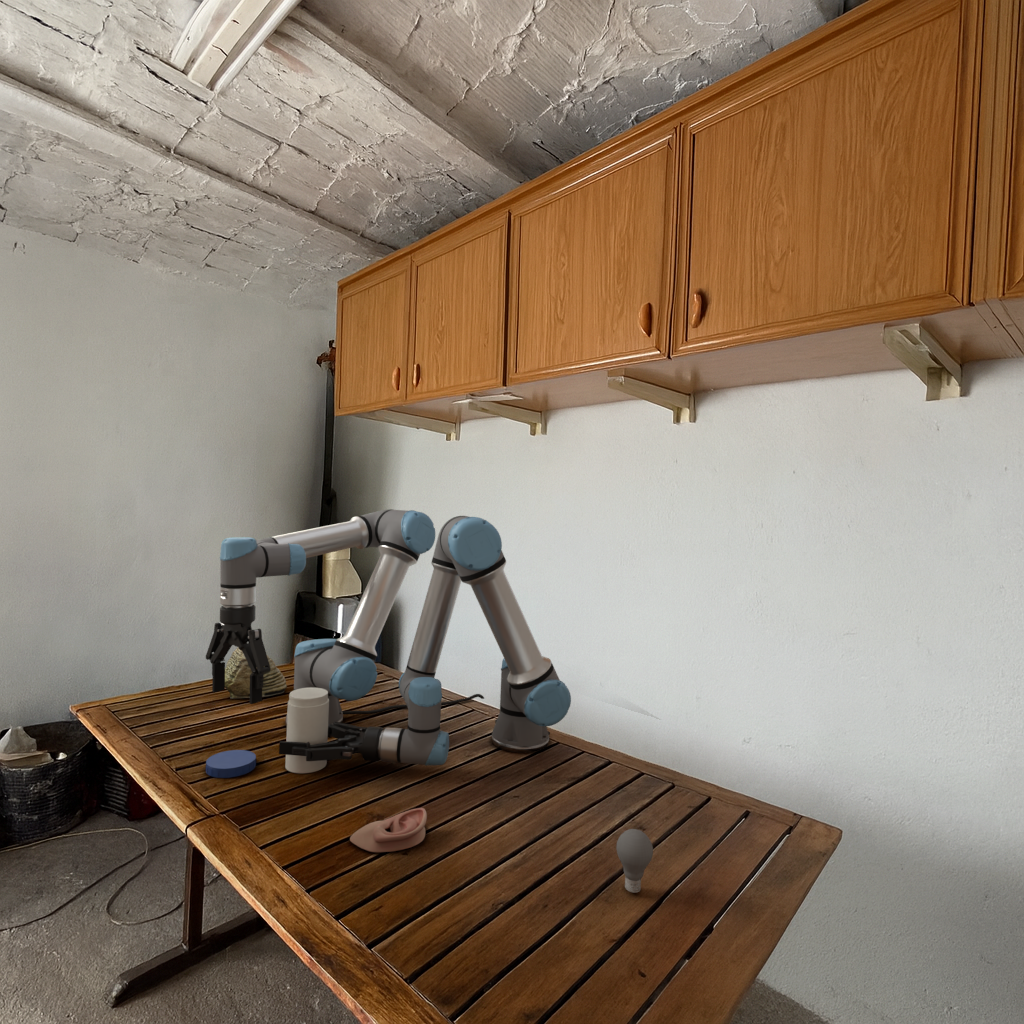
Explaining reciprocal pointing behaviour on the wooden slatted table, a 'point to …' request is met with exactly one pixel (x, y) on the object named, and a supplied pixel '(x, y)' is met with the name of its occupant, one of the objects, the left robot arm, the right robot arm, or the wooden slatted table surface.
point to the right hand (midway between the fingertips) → (290, 738)
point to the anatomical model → (392, 832)
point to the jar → (307, 725)
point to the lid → (230, 763)
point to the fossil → (240, 677)
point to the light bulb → (634, 857)
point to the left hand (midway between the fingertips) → (236, 696)
